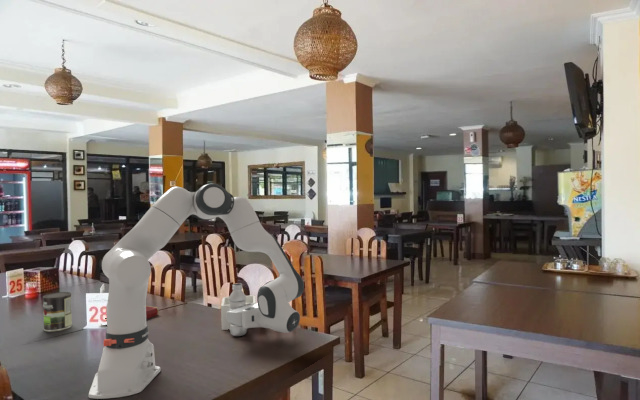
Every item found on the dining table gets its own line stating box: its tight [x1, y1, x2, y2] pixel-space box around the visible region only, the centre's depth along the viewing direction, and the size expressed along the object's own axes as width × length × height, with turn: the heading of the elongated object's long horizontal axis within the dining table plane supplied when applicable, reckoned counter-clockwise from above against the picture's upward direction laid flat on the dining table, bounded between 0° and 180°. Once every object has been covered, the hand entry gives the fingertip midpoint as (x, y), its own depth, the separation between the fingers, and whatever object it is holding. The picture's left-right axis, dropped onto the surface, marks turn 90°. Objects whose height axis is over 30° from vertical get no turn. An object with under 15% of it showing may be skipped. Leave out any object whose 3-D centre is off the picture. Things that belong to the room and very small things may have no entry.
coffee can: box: [42, 291, 73, 333], centre depth 175 cm, size 10×10×14 cm
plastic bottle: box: [228, 283, 248, 337], centre depth 161 cm, size 6×7×20 cm
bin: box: [220, 294, 257, 331], centre depth 175 cm, size 14×14×10 cm
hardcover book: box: [105, 305, 159, 321], centre depth 184 cm, size 12×21×4 cm, turn 152°
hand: (239, 307), depth 160 cm, fingers open, 8 cm apart
